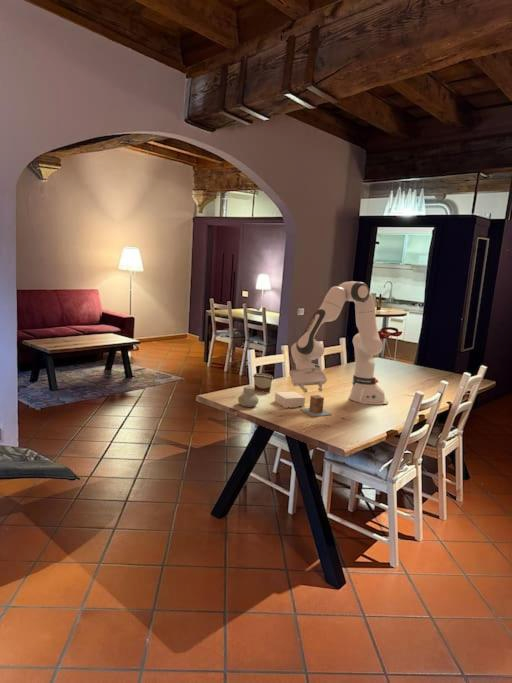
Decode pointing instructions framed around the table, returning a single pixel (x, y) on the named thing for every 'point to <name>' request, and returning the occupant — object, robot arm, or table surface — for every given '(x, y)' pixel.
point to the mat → (315, 413)
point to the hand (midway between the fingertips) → (313, 391)
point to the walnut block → (316, 404)
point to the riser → (289, 399)
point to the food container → (262, 382)
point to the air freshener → (248, 397)
